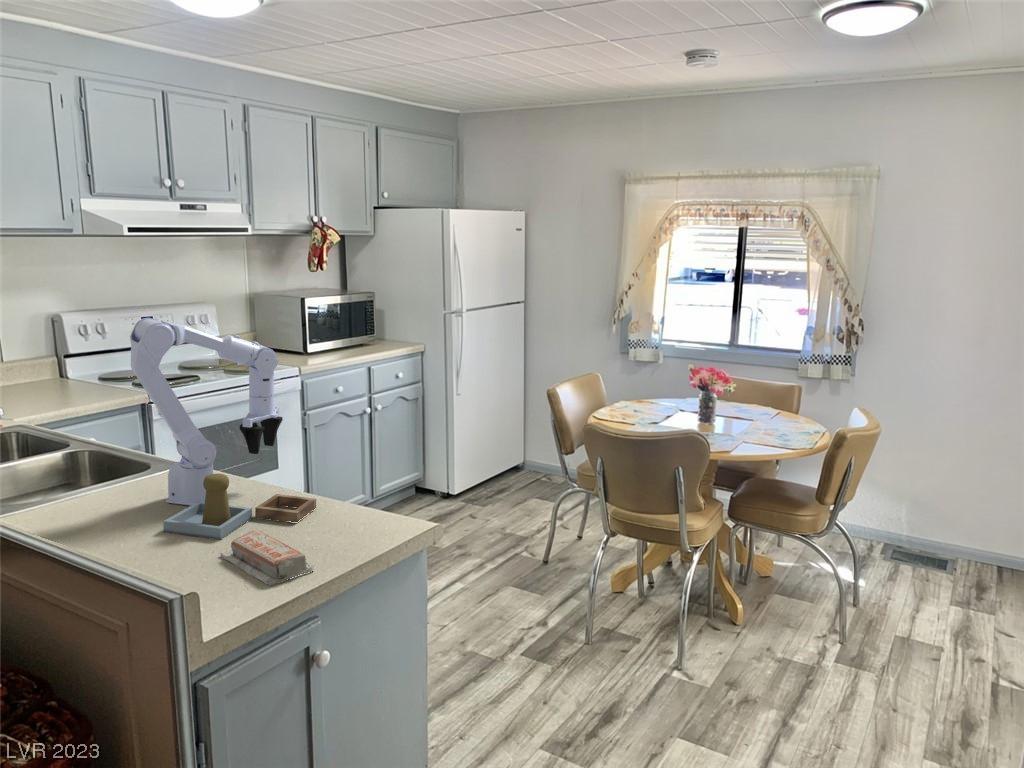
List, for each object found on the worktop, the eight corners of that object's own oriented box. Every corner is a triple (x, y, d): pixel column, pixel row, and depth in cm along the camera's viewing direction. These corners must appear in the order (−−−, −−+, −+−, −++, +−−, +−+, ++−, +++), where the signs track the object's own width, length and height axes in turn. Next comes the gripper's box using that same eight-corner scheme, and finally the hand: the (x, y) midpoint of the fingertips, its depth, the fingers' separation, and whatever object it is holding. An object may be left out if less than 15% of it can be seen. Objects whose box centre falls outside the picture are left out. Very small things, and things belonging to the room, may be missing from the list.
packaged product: (316, 550, 150) (269, 564, 143) (315, 574, 151) (269, 589, 144) (264, 523, 162) (219, 535, 155) (264, 545, 163) (219, 558, 155)
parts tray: (163, 532, 165) (163, 521, 165) (199, 511, 178) (198, 501, 178) (220, 539, 163) (220, 528, 163) (252, 518, 176) (252, 508, 175)
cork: (227, 529, 168) (226, 479, 166) (198, 528, 167) (197, 478, 165) (234, 519, 174) (234, 471, 172) (206, 518, 173) (206, 470, 171)
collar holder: (255, 518, 176) (255, 507, 176) (276, 504, 186) (276, 493, 185) (297, 523, 175) (297, 512, 174) (316, 508, 184) (316, 498, 184)
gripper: (262, 402, 183) (262, 458, 185) (290, 391, 197) (290, 443, 199) (234, 399, 184) (234, 455, 187) (264, 388, 198) (264, 440, 201)
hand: (261, 449), depth 193 cm, fingers open, 7 cm apart
